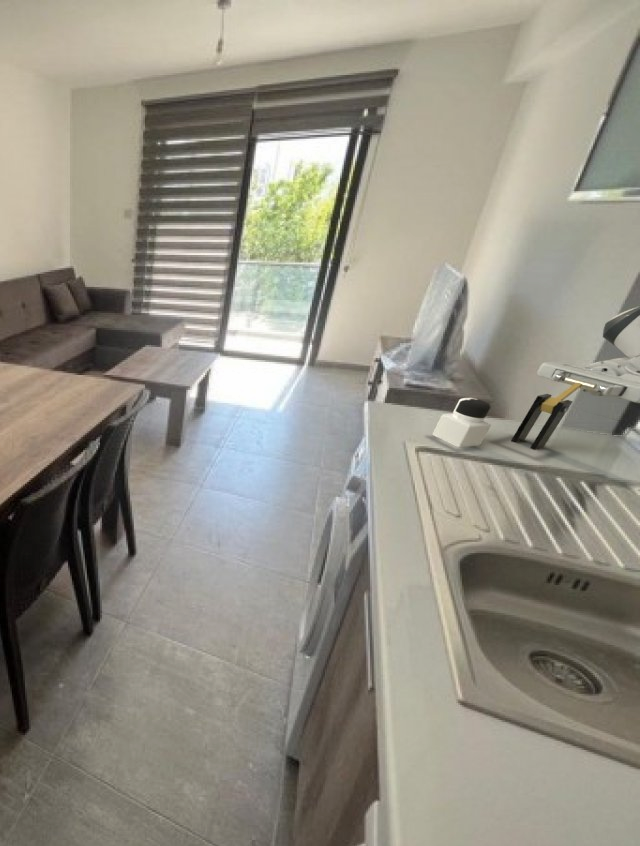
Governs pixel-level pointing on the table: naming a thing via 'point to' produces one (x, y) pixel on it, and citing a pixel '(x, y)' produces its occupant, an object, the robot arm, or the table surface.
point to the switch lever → (566, 393)
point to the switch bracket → (549, 425)
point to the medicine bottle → (464, 423)
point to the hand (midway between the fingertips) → (578, 384)
